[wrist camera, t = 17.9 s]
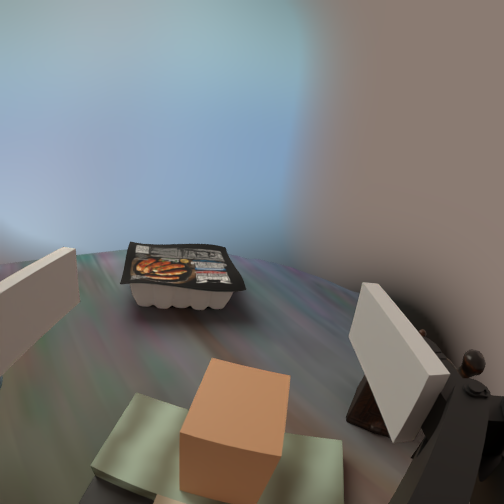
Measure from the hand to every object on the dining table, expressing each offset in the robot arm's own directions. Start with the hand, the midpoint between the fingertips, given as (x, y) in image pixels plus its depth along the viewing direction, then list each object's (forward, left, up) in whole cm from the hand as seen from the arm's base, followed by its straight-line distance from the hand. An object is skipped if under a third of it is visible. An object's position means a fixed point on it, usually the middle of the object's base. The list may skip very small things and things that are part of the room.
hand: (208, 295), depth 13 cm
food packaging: (+11, +52, -30) cm, 61 cm away
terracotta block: (+6, +5, -26) cm, 27 cm away
